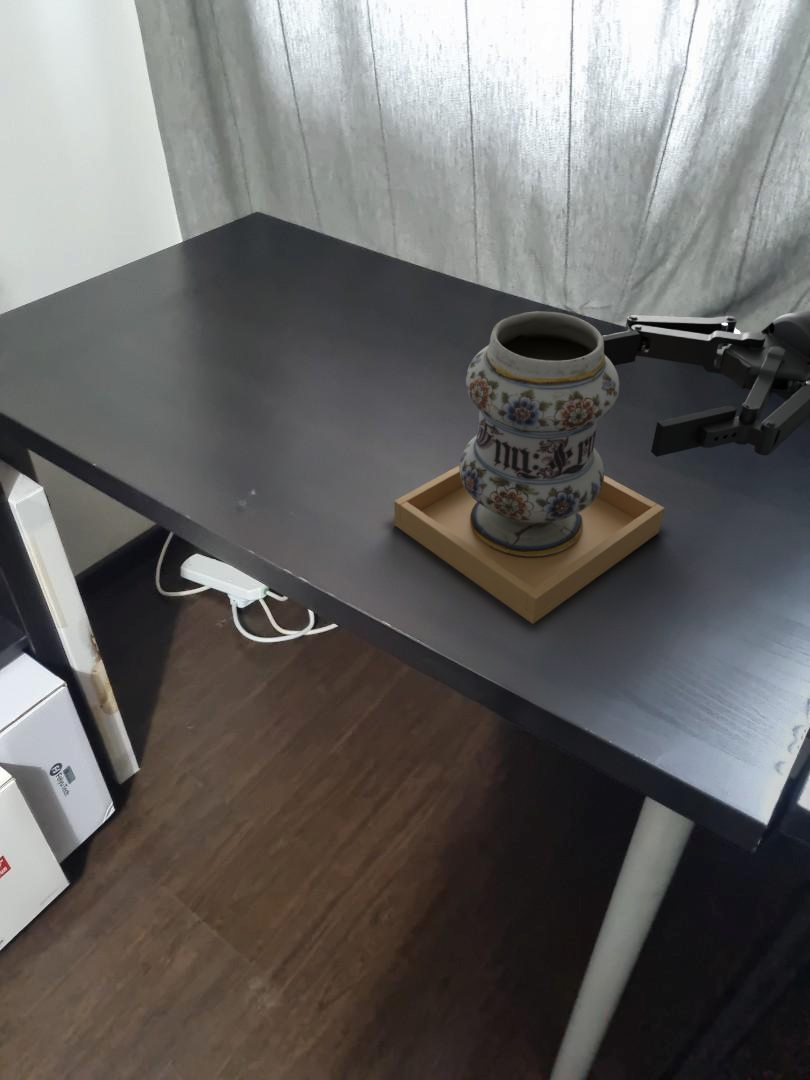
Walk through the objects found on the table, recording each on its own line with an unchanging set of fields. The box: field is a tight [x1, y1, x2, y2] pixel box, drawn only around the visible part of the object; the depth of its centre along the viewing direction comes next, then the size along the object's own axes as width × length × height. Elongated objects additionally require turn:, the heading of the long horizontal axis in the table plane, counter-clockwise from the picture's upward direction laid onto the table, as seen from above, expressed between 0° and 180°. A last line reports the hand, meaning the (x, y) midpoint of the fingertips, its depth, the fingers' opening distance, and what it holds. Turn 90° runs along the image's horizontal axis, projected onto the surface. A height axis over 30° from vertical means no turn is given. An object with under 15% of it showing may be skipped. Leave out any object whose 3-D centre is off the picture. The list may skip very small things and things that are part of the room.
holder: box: [393, 464, 665, 625], centre depth 73 cm, size 17×17×3 cm
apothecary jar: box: [458, 311, 620, 557], centre depth 67 cm, size 12×12×18 cm
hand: (609, 396), depth 67 cm, fingers open, 13 cm apart
